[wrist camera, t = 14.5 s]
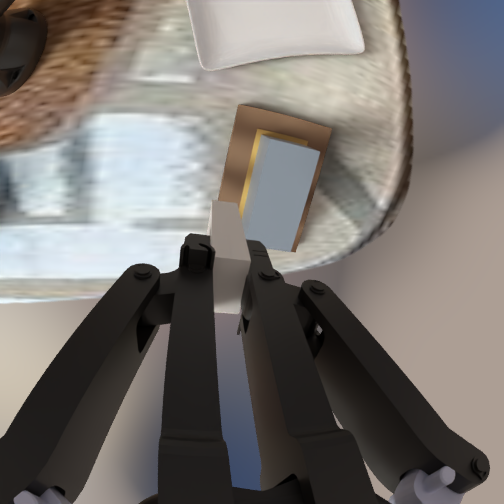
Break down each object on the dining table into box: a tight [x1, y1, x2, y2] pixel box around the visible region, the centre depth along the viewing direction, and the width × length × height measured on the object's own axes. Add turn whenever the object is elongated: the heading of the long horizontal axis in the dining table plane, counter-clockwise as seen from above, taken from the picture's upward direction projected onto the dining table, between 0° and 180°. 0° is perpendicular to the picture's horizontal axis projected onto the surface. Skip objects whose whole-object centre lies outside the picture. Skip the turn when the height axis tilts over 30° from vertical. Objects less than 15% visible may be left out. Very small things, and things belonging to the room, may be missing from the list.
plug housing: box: [241, 135, 320, 252], centre depth 32 cm, size 12×6×6 cm, turn 167°
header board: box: [218, 104, 332, 252], centre depth 34 cm, size 18×12×6 cm, turn 167°
